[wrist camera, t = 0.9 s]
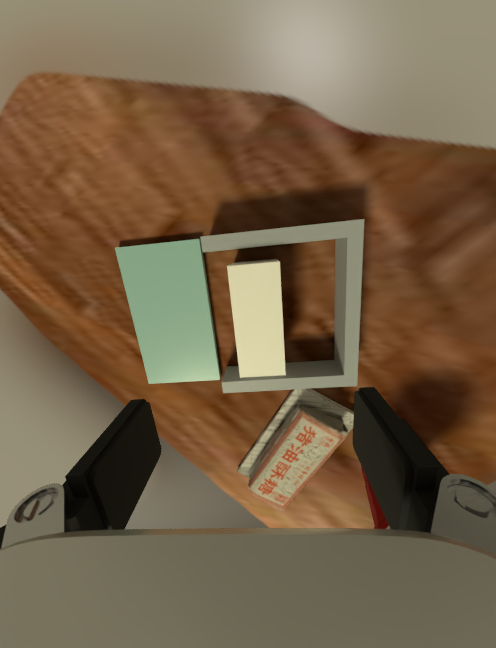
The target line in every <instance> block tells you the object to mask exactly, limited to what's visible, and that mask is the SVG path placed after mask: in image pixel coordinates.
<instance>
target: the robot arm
mask: <svg viewBox="0 0 496 648" xmlns="http://www.w3.org/2000/svg"><path fill="white" fill-rule="evenodd" d="M353 446H354V450H355V452H356V454H357V456H358V459H359V461H360V463H361V465H362V467H363V470H364V472H365V474H366V476H367V478H368V480H369V483H370V485H371V487H372V489H373V491H374V494H375V496H376V498H377V500H378V502H379V504H380V507H381V509H382V511H383V513H384V515H385V518H386V520H387V522H388V524H389V526H390V529H355V528H229V529H228V528H227V529H226V528H220V529H133V530H132V529H131V530H130V529H129V530H128V529H127V530H124V529H125V527H126V525H127V523H128V521H129V519H130V517H131V515H132V513H133V511H134V509H135V506H136V504H137V502H138V500H139V498H140V496H141V494H142V492H143V490H144V488H145V486H146V484H147V482H148V480H149V478H150V476H151V474H152V472H153V470H154V468H155V466H156V464H157V462H158V460H159V457H160V455H161V445H160V441H159V437H158V434H157V430H156V426H155V422H154V418H153V414H152V410H151V406H150V403H149V402H146V400H145V399H138V400H131V401H130V402H129V403H128V404H127V405H126V406H125V408H124V409H123V410H122V411H121V412H120V413H119V415H118V416H117V417H116V418H115V419H114V421H113V422H112V423H111V424H110V425H109V426H108V428H107V429H106V430H105V431H104V432H103V433H102V434H101V436H100V437H99V438H98V439H97V440H96V441H95V443H94V444H93V445H92V446H91V447H90V448H89V450H88V451H87V452H86V453H85V454H84V455H83V456H82V458H81V459H80V460H79V461H78V462H77V464H76V465H75V466H74V467H73V468H72V469H71V470H70V472H69V473H68V474H67V475H66V477H65V478H66V482H65V483H64V484H63V485H60V484H49V485H46V486H43V487H41V488H39V489H37V490H35V491H33V492H32V493H30V494H29V495H27V496H26V497H25V498H24V499H22V500H21V501H20V502H19V503H18V504H17V505H16V506H15V508H14V509H13V510H12V512H11V513H10V515H9V518H8V520H7V524H6V525H5V526H3V527H1V528H0V648H496V492H495V491H494V490H492V489H491V488H490V487H488V486H487V485H485V484H484V483H482V482H480V481H478V480H476V479H473V478H470V477H467V476H465V475H458V474H451V475H450V474H449V473H448V472H447V471H446V469H445V468H444V467H443V466H442V464H441V463H440V462H439V461H438V460H437V458H436V457H435V456H434V455H433V454H432V452H431V451H430V450H429V449H428V448H427V446H426V445H425V444H424V443H423V442H422V440H421V439H420V438H419V437H418V435H417V434H416V433H415V432H414V431H413V429H412V428H411V427H410V426H409V425H408V423H407V422H406V421H405V420H404V419H402V418H399V417H398V416H397V415H396V414H395V412H394V411H393V410H392V409H391V407H390V406H389V405H388V404H387V402H386V401H385V400H384V399H383V397H382V396H381V395H380V394H379V392H378V391H377V390H376V389H375V388H374V387H364V388H359V391H356V392H355V395H354V420H353Z"/></svg>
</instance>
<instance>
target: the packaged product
mask: <svg viewBox="0 0 496 648" xmlns="http://www.w3.org/2000/svg"><path fill="white" fill-rule="evenodd" d="M353 420H354V412H353V411H352V410H350V409H348V408H346V407H344V406H342V405H340V404H338V403H336V402H335V401H333V400H331V399H329V398H327V397H326V396H324V395H322V394H320V393H318V392H317V391H315V390H313V389H311V388H309V389H293V390H292V391H291V393H290V394H289V396H288V397H287V399H286V400H285V402H284V403H283V404H282V406H281V408H280V410H279V411H278V412H277V414H276V415H275V416H274V418H273V419H272V420H271V422H270V423H269V424H268V426H267V427H266V428H265V430H264V431H263V432H262V433H261V435H260V437H259V438H258V439H257V441H256V443H255V445H254V446H253V448H252V449H251V450H250V451H249V453H248V454H247V456H246V457H245V459H244V460H243V462H242V463H241V465H240V467H239V468H238V469H237V472H239V473H241V474H243V475H245V476H247V477H250V480H249V484H248V485H249V488H248V490H249V492H250V493H251V494H252V495H253V496H254V497H255V498H256V499H257V500H258V499H260V500H261V501H263V502H266V503H268V504H269V505H271V506H273V507H276V508H279V509H281V510H285V508H286V507H287V506H288V505H289V504H290V503H291V501H292V500H293V499H294V498H295V497H296V496H297V494H298V493H299V492H300V491H301V490H302V489H303V487H304V486H305V485H306V483H308V481H309V480H310V479H311V478H312V476H313V475H315V473H316V472H317V471H318V470H319V468H320V467H321V466H322V465H323V464H324V463H325V461H326V460H327V459H328V458H329V457H330V456H331V454H332V453H333V452H334V451H335V449H336V448H337V447H338V446H339V445H340V444H341V443H342V442H343V441H344V439H345V437H347V434H348V433H349V432H350V430H351V429H352V428H353Z"/></svg>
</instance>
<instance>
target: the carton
mask: <svg viewBox="0 0 496 648" xmlns="http://www.w3.org/2000/svg"><path fill="white" fill-rule="evenodd" d="M227 269H228V278H229V287H230V295H231V304H232V313H233V321H234V330H235V339H236V347H237V356H238V365H239V374H240V378H242V377H261V376H279V375H286V372H285V352H284V332H283V313H282V293H281V273H280V261H279V260H277V259H268V260H257V261H246V262H236V263H232V264H230V265H229V266H227Z"/></svg>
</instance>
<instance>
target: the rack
mask: <svg viewBox="0 0 496 648" xmlns="http://www.w3.org/2000/svg"><path fill="white" fill-rule="evenodd" d="M200 238H201V244H202V251H203V252H213V251H223V250H232V249H242V248H252V247H262V246H271V245H281V244H291V243H301V242H310V241H320V240H330V239H336V240H335V335H334V360H323V361H307V362H291V363H285V372H286V375H279V376H261V377H242V378H240V374H239V366H227V367H226V370H225V373H224V377H223V380H222V387H223V393H233V392H252V391H271V390H290V389H309V388H328V387H347V386H357V377H358V354H359V331H360V308H361V285H362V262H363V239H364V219H359V220H350V221H341V222H332V223H322V224H313V225H304V226H295V227H285V228H276V229H267V230H258V231H248V232H239V233H230V234H221V235H211V236H202V237H200Z"/></svg>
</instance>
